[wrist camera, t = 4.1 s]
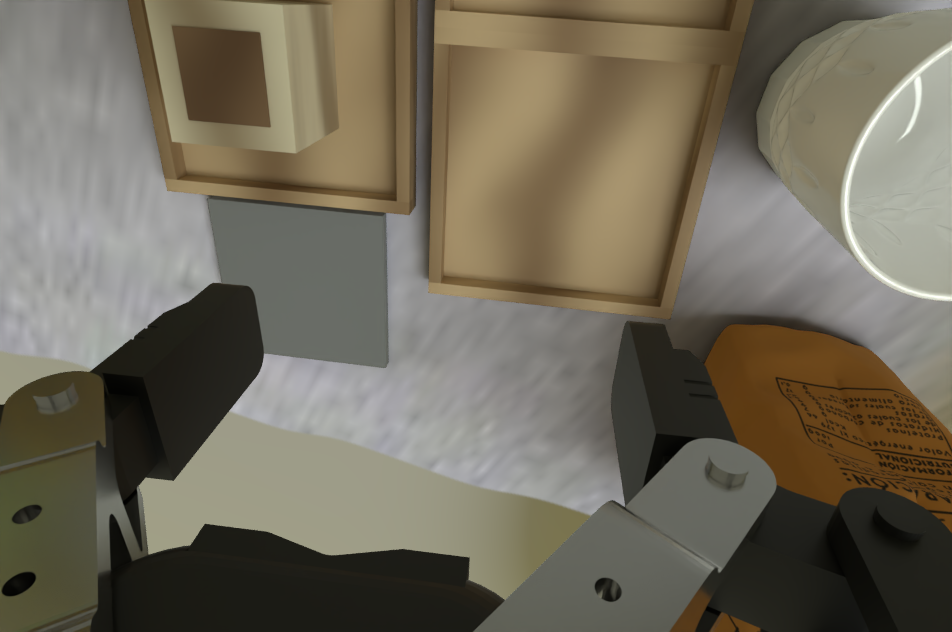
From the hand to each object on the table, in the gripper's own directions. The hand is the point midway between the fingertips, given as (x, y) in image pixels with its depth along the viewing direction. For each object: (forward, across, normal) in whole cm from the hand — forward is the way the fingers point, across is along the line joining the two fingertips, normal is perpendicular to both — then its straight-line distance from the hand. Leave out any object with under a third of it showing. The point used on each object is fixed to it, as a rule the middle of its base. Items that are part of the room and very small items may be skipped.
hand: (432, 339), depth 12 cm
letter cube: (+16, +10, -4) cm, 19 cm away
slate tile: (+16, +10, +7) cm, 21 cm away
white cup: (+16, -14, -3) cm, 22 cm away
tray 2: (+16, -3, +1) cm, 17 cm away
